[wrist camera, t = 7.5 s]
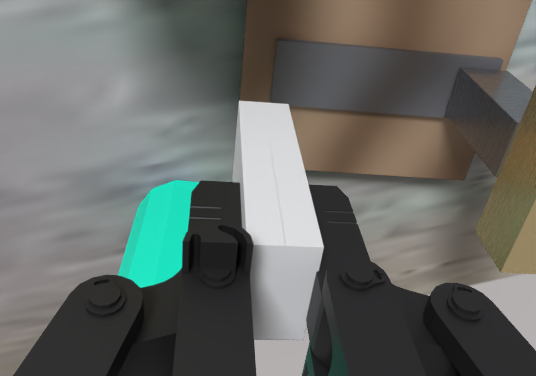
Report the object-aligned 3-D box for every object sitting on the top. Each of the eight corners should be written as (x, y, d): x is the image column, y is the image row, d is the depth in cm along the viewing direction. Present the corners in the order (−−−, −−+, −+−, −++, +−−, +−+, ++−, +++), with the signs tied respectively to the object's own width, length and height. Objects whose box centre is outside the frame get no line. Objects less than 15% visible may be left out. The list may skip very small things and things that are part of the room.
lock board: (235, 154, 28) (235, 169, 27) (251, -61, 22) (252, -56, 21) (456, 169, 29) (466, 184, 28) (528, -32, 23) (546, -25, 22)
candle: (242, 251, 32) (242, 430, 22) (150, 262, 32) (109, 444, 22) (226, 173, 29) (218, 342, 19) (124, 186, 29) (63, 359, 19)
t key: (429, 160, 27) (498, 272, 20) (479, 6, 22) (590, 77, 15) (472, 163, 27) (555, 275, 20) (530, 11, 23) (663, 84, 15)
